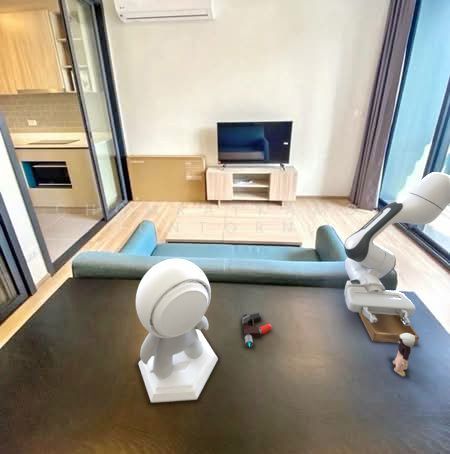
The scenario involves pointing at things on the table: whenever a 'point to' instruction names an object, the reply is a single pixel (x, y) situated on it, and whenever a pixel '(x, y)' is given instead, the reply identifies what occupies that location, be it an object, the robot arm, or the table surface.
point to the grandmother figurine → (403, 352)
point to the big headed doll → (174, 331)
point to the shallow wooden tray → (387, 328)
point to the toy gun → (253, 328)
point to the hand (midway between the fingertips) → (390, 323)
